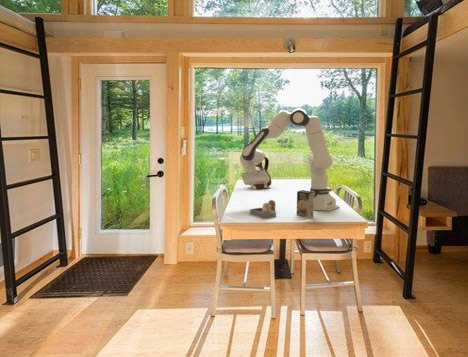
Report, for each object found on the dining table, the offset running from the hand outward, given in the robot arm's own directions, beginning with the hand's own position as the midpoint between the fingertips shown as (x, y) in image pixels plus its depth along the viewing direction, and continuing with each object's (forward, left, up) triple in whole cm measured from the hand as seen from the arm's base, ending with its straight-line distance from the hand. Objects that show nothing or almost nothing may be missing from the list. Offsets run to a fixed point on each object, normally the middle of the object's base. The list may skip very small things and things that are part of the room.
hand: (260, 188), depth 248 cm
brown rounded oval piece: (0, +12, -15) cm, 19 cm away
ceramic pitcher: (-52, -71, -15) cm, 89 cm away
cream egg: (+11, +21, -14) cm, 27 cm away
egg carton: (+11, +17, -15) cm, 25 cm away
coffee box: (-11, +32, -15) cm, 37 cm away
